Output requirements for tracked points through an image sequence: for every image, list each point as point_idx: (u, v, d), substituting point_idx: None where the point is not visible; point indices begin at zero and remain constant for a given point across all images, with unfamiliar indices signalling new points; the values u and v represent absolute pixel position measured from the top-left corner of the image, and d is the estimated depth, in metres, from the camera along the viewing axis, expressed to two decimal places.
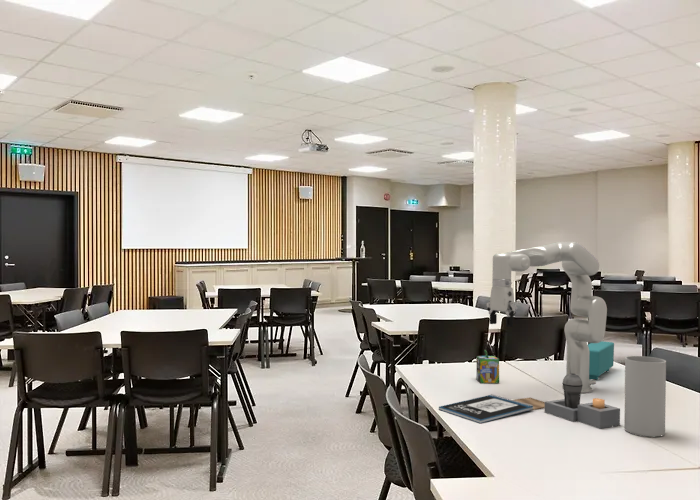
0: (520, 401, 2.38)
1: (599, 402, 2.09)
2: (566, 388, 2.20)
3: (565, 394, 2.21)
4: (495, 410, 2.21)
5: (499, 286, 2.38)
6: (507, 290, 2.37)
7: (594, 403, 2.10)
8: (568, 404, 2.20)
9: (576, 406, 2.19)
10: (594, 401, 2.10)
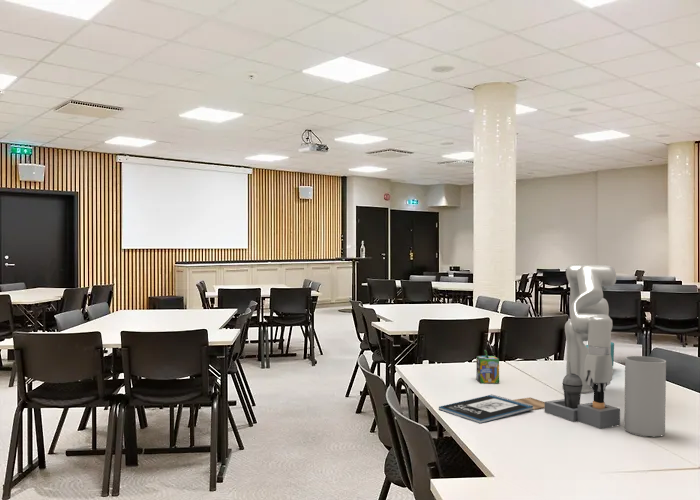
0: (520, 401, 2.38)
1: (599, 404, 2.09)
2: (566, 388, 2.20)
3: (565, 394, 2.21)
4: (495, 410, 2.21)
5: (610, 354, 2.09)
6: None
7: (594, 405, 2.10)
8: (568, 404, 2.20)
9: (576, 406, 2.19)
10: (594, 403, 2.10)
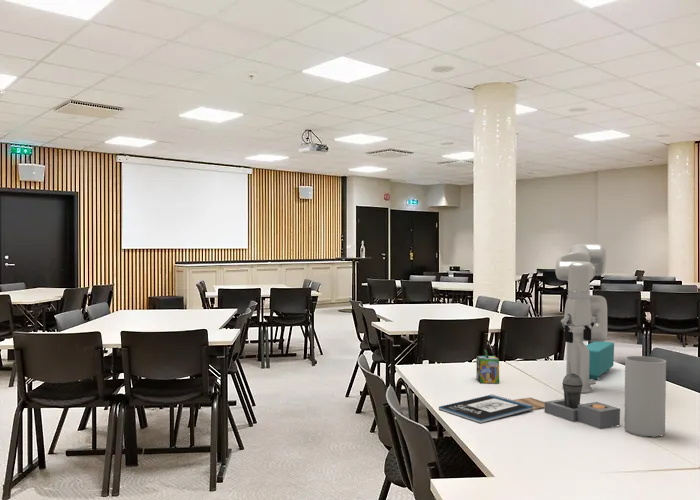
0: (520, 401, 2.38)
1: (599, 408, 2.09)
2: (566, 388, 2.20)
3: (565, 394, 2.21)
4: (495, 410, 2.21)
5: (589, 298, 2.18)
6: None
7: None
8: (568, 404, 2.20)
9: (576, 406, 2.19)
10: (594, 407, 2.10)
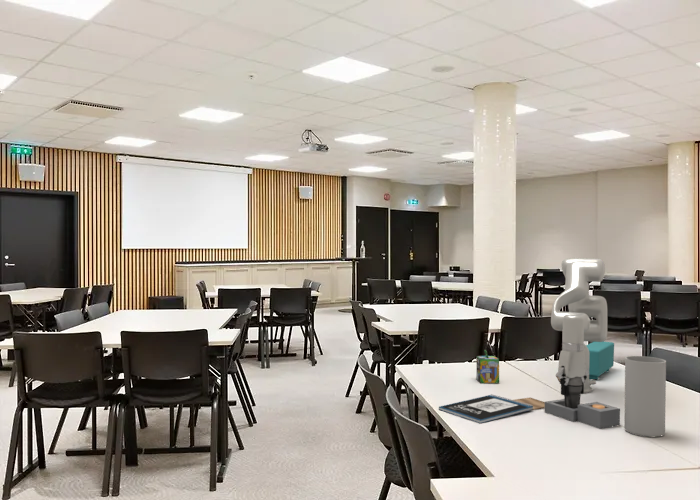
0: (520, 401, 2.38)
1: (599, 408, 2.09)
2: None
3: None
4: (495, 410, 2.21)
5: (583, 350, 2.20)
6: None
7: None
8: (568, 404, 2.20)
9: (576, 406, 2.19)
10: (594, 407, 2.10)
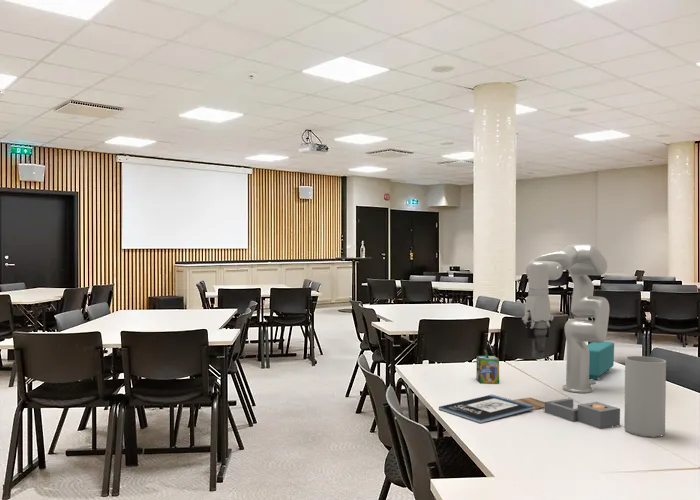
0: (520, 401, 2.38)
1: (599, 408, 2.09)
2: None
3: None
4: (495, 410, 2.21)
5: None
6: None
7: None
8: (534, 347, 2.32)
9: (541, 348, 2.31)
10: (594, 407, 2.10)
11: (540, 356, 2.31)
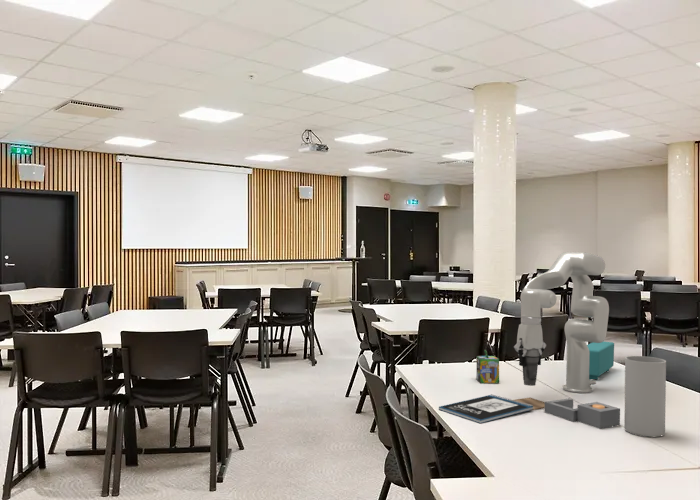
0: (520, 401, 2.38)
1: (599, 408, 2.09)
2: None
3: None
4: (495, 410, 2.21)
5: None
6: None
7: None
8: (526, 374, 2.34)
9: (533, 376, 2.33)
10: (594, 407, 2.10)
11: (532, 384, 2.34)
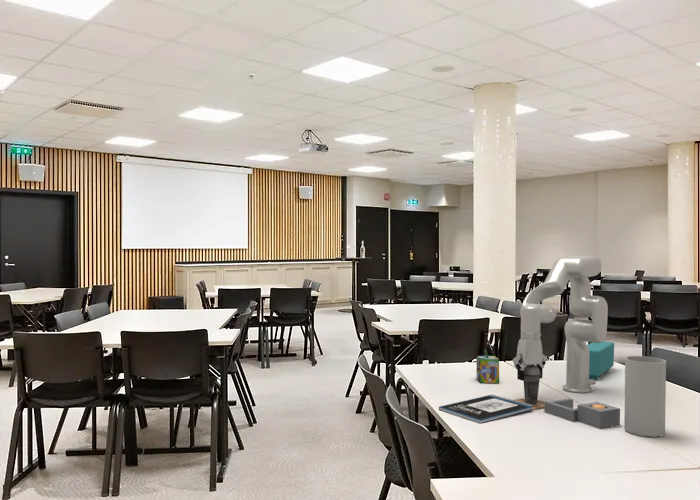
0: (520, 401, 2.38)
1: (599, 408, 2.09)
2: (525, 378, 2.35)
3: (524, 383, 2.36)
4: (495, 410, 2.21)
5: (539, 339, 2.34)
6: None
7: None
8: (527, 393, 2.35)
9: (534, 395, 2.34)
10: (594, 407, 2.10)
11: (533, 402, 2.34)
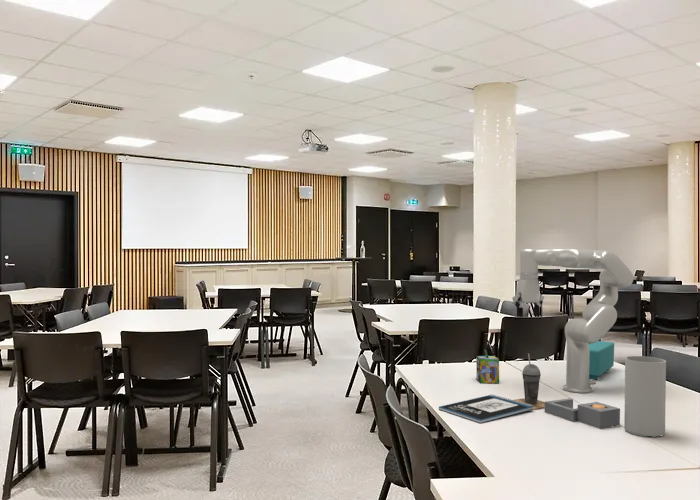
0: (520, 401, 2.38)
1: (599, 408, 2.09)
2: (525, 378, 2.35)
3: (524, 383, 2.36)
4: (495, 410, 2.21)
5: (537, 279, 2.55)
6: None
7: None
8: (527, 393, 2.35)
9: (534, 395, 2.34)
10: (594, 407, 2.10)
11: (533, 402, 2.34)
